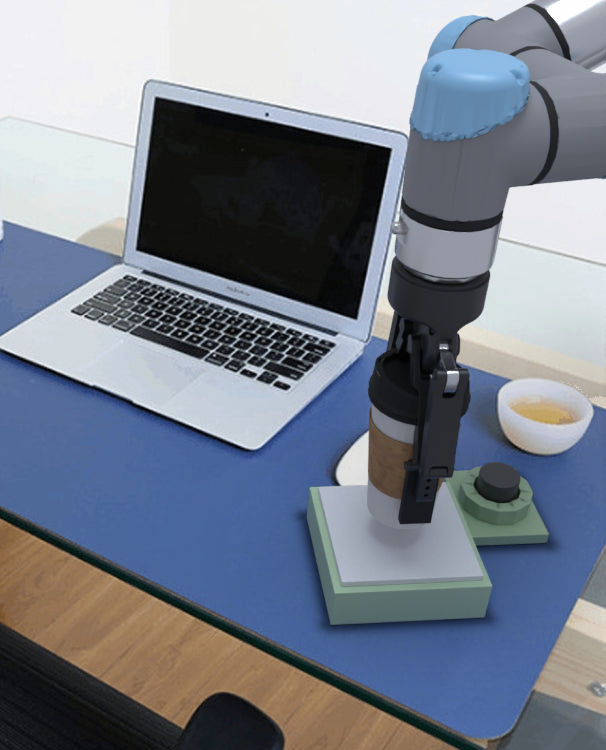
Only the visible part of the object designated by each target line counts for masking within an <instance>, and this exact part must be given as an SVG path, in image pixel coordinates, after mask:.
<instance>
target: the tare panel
mask: <svg viewBox="0 0 606 750" xmlns="http://www.w3.org/2000/svg"><path fill="white" fill-rule="evenodd" d="M482 466H483V465H480V466H479V465H477V466H476V467H474V468H471V469H467V470H465V469H462V470H454V473H453V477H452V478H444V479H443V482H450V485H451V487H452V489H453V492H454V494H455V497H456V499H457V502H458V504H459V506H460V509H461V511H462V514H463V516H464V518H465V521H466V523H467V526H468V528H469V531H470V533H471V535H472V538H473V540H474V543H475V545H476V547H477V546H478V547H479V546H505V545H525V544H526V545H528V544H546V543H548V539H549V536H550V533H549V531H548V529H547V527H546V525H545V523H544V521H543V519H542V517H541V515H540V513H539V511H538V510H537V509H538V508H537V507H536V505H535V503H534V501H533V496H534V491H533V489H532V487H531V485H530V484H529V482H528V480H527V479H525V478H524V477H522V476H521V475H520V478H521V480H520V484H519V488H518V492H517V496H516V497H515V499H514V500H512V501H510V502H508V503H495V502H492V501H489V500H486V499H485V498H483V497H482V496H481V495H480V494H479V493H478V491H477V489H476V484H477V480H478V475H479V471H480V468H481V467H482Z"/></svg>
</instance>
